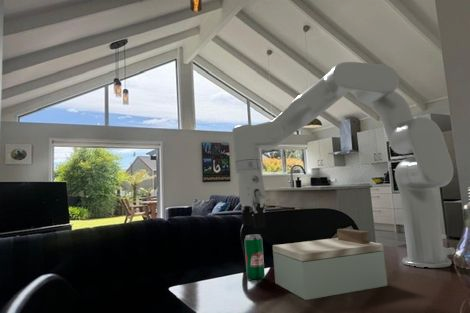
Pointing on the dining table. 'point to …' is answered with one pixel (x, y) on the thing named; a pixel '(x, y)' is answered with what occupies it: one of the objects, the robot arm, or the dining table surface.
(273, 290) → the dining table surface
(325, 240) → the lid
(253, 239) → the soda can
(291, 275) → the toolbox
